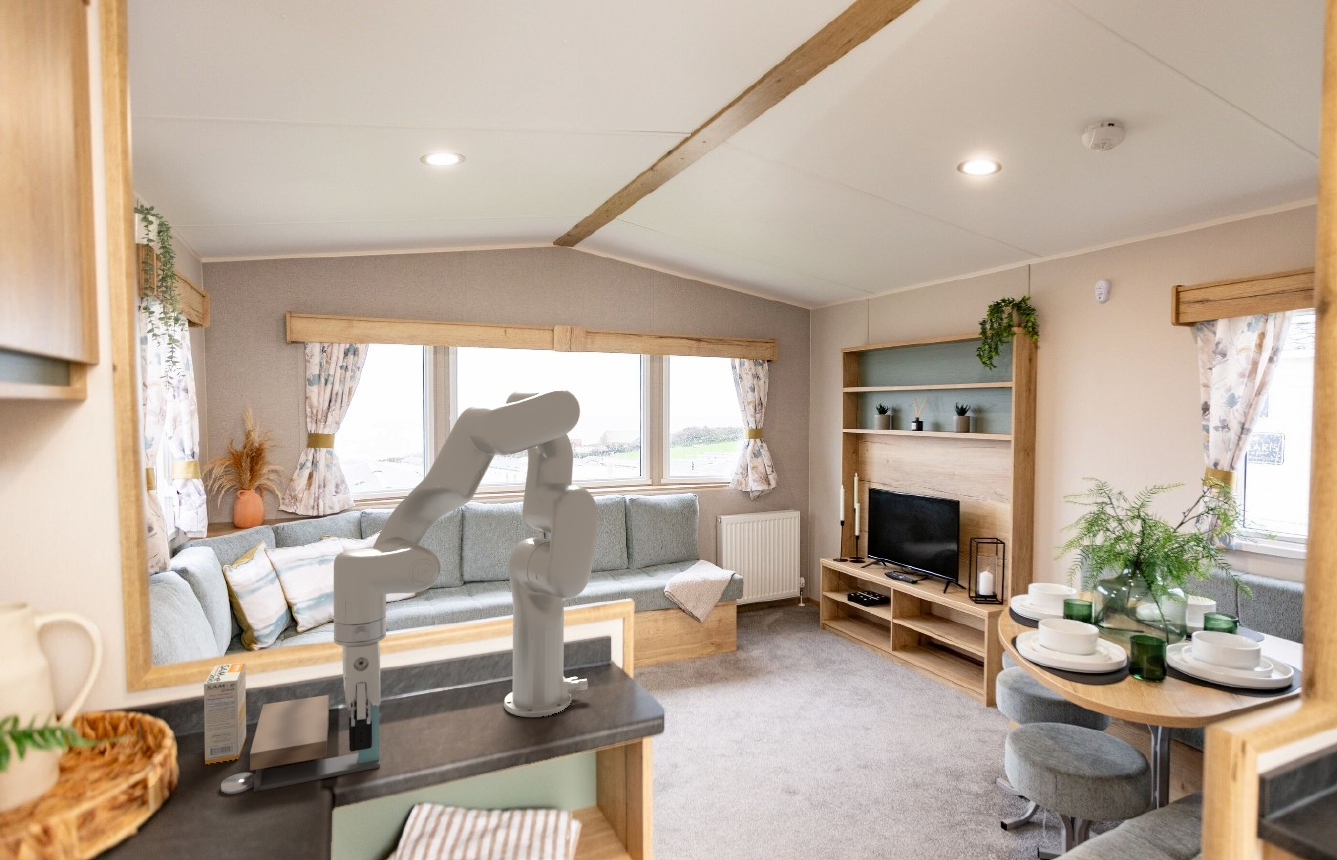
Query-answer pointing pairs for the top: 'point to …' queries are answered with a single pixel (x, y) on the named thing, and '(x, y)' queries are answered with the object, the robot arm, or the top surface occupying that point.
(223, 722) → the supplement box
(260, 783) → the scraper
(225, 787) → the steel token
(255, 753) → the low block
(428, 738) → the top surface
